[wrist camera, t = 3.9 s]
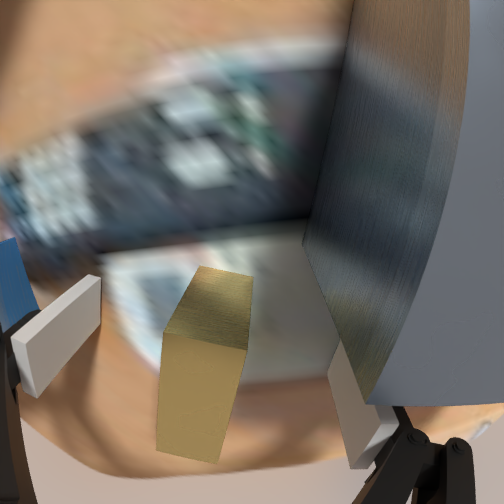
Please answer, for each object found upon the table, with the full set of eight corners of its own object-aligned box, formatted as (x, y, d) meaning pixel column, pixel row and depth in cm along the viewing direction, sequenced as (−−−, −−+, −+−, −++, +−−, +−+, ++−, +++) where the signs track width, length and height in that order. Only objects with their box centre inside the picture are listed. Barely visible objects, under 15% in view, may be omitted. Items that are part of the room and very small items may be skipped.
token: (184, 367, 17) (156, 450, 11) (199, 265, 15) (163, 331, 9) (229, 377, 17) (217, 464, 11) (253, 276, 15) (247, 350, 9)
